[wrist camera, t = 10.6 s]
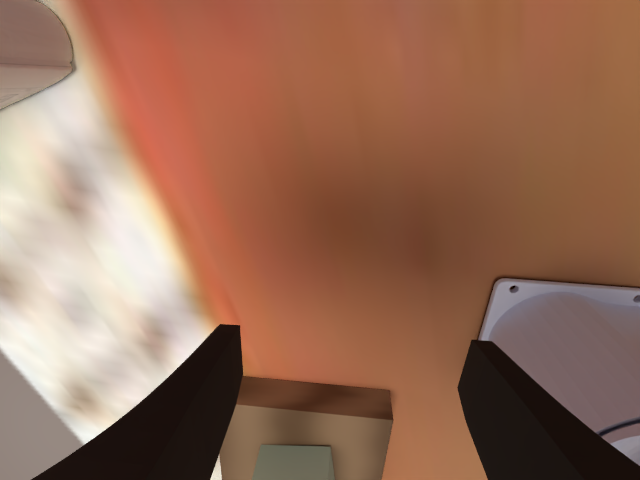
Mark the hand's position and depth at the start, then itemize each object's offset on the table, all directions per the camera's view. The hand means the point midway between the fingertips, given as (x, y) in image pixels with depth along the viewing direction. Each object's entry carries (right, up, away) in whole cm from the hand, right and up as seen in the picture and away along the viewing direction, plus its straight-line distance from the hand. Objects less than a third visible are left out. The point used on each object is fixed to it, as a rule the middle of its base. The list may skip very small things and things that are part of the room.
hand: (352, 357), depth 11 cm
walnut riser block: (-2, -12, +18) cm, 22 cm away
